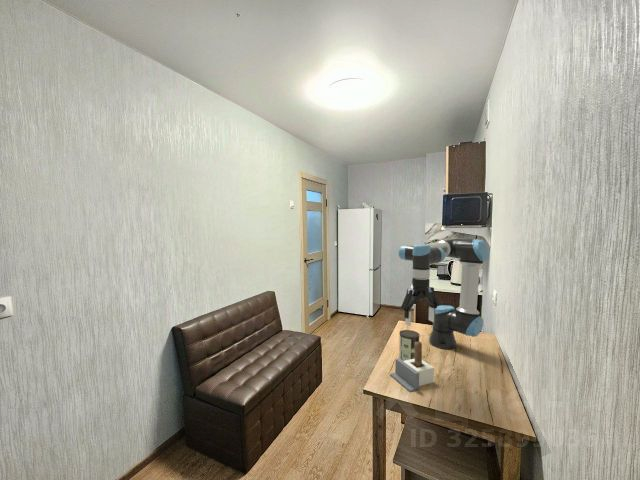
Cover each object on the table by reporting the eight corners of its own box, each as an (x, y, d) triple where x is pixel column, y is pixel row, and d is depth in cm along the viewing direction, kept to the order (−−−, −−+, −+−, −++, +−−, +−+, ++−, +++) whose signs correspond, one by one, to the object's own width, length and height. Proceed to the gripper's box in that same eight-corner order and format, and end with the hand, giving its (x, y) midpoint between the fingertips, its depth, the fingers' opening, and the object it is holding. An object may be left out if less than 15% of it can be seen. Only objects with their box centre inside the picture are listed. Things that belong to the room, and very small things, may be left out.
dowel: (418, 373, 129) (418, 341, 129) (423, 377, 126) (423, 343, 126) (413, 375, 128) (413, 342, 127) (417, 378, 125) (417, 344, 124)
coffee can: (417, 355, 150) (417, 330, 149) (420, 364, 140) (421, 338, 139) (398, 353, 152) (398, 329, 151) (399, 362, 142) (400, 336, 141)
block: (418, 371, 133) (418, 357, 133) (433, 382, 124) (434, 367, 124) (401, 375, 130) (402, 361, 129) (416, 386, 120) (416, 371, 120)
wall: (398, 373, 132) (399, 358, 131) (418, 389, 119) (419, 372, 118) (390, 375, 130) (390, 360, 129) (409, 392, 117) (410, 375, 116)
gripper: (435, 274, 133) (434, 317, 134) (393, 278, 124) (392, 323, 125) (447, 277, 126) (446, 322, 127) (404, 281, 117) (403, 329, 118)
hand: (419, 323), depth 126 cm, fingers open, 13 cm apart
